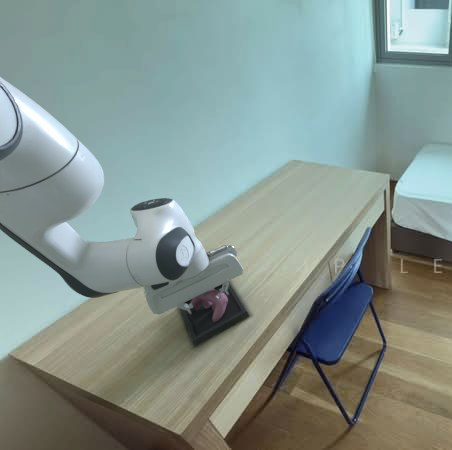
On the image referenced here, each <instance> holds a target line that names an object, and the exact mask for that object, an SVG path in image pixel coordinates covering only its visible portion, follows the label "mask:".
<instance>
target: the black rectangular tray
mask: <svg viewBox="0 0 452 450" xmlns="http://www.w3.org/2000/svg"><path fill="white" fill-rule="evenodd" d="M222 286H223V285H222V284H221V285H219V286H217V287H215V288H213V289H216V290H218V291H219V292H220V290H219V289H221V288H222ZM227 291H228V293H229V295H227V298H228V304H227V305H226V308H225V312H224V314H223V316H222V317H221V319H220V320H219V321H217V322H213V320H212V317H213V313H214V310H213V309H212V307H210V308H205V307H204V306H203V303H201V305H200V306H199V308H198V309H197V310H196V311H195V312H194V313H191V314H189V312H188V311H187V310H183V309H180V308H178V309H179V311H180V313H181V316H182V318H183V321H184V323H185V327H186V329H187V332H188V334H189V336H190V339H191V342H192V343H193V344H194V346H195V347H197V346H199V345H201V344H203V343H205V342H207V341H208V340H210V339H211V338H214V337H215V336H217V335H219V334H220V333H223V332H224V331H227V330H228V329H229V328H231V327H233V326H234V325H236V324H239V323H240V322H242V321H244V320H245V319H247V318H249V317H250V314H249V312H248V310H247V309H246V307H245V305H244V304H243V302H242V301H241V299H240V297H239V296H238V294H237V293H236V291H235V290H234V288H233V286H232V284H231V283H230V282H229V286H228V290H227ZM191 301H192V299H191V300H189V301H187V302H185V304H188V305H189V304H190V303H191Z"/></svg>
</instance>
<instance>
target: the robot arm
mask: <svg viewBox="0 0 452 450" xmlns="http://www.w3.org/2000/svg"><path fill="white" fill-rule="evenodd" d="M104 185H105V175H104V169H103V167H102V165H101V163H100V162H99V160H98V159H97V158H96V156H95V155H94V154H93V153H92V152H91V151H90V150H89V148H87V147H86V146H85V144H83V143H82V142H81V141H80V140H79V139H78V138H77V137H76V136H75V135H74V134H73V133H72V132H71V131H70V130H69V129H68V128H67V127H66V126H64V124H62V123H61V122H60V121H59V120H58V119H56V118H55V117H54V116H53V114H51V113H50V112H48V111H47V110H46V109H44V108H43V107H42V106H41V105H39V104H38V102H36V101H34V99H32V98H30V97H29V96H28V95H26V94H25V93H24V92H23V91H21V90H20V89H19V88H17V87H16V86H15V85H13V84H11V83H10V82H8V81H7V80H6V79H4V78H2V77H1V76H0V231H2V232H3V233H4V234H5V235H6V236H8V238H10V239H11V240H12V241H14V242H15V243H17V244H18V245H19V246H20V247H22V248H24V250H26V251H28V252H29V253H30V254H31V255H33V256H34V257H36V258H37V259H38V260H40V261H41V262H43V263H44V264H45V265H46V266H48V267H49V268H51V269H52V270H53V271H55V272H56V273H57V274H58V275H59V276H60V278H61V279H62V280H63V281H64V282H65V284H66V285H67V286H68V287H69V288H70V289H71V290H73V291H74V292H75V293H77V294H78V295H81V296H83V297H86V298H90V299H97V298H101V297H106V296H108V295H112V294H117V293H119V292H124V291H130V290H134V289H140V288H142V289H143V294H144V297H145V301H146V303H147V305H148V308H149V309H150V311H151V312H152V314H154V315H163V314H164V313H166V312H169V311H170V310H172V309H174V308H176V307H177V308H178V309H179V308H180V309H183V310H187V311H188V312H189V314H191V313H193V312H195V311H196V309H195V307H194V306H193V304H192V303H191V304H189V305H188V304H185V302H187V301H189V300H191V299H193V298H195V297H197V296H199V295H201V294H203V293H205V292H207V291H209V290H211V289H213V288H215V287H217V286H219V285H221V284H222V285H223V286H222V288H221V289H219V290H220V292H221V293H223V294H225V295H226V296H227V295H229V293H228V291H227V290H228V286H229V283H230V282H229V281H232V280H234V279H235V278H238V277H240V276H242V275H243V273H244V271H245V270H244V267H243V265H242V264H241V263H240V261H239V260H238V258H237V256H238V251H237V249H236V248H235V246H233V245H229V244H228V245H226V244H224V245H221V246H220V247H218V248H215V249H212V250H209V251H207V252H206V250H205V247H204V246H203V243H202V242H201V241H200V240H199V239H198V238H197V236H196V234H195V229H194V226H193V225H192V222H191V221H190V219H189V217H188V216H187V214H186V213H185V211H184V210H183V208H182V207H181V206H180V204H179V203H178V202H177V201H175V200H174V199H173V198H169V197H161V198H154V199H149V200H146V201H142V202H139V203H137V204H134V205H133V206H132V207H131V208H130V209H129V211H130V215H131V218H132V221H133V224H134V225H135V227H136V233H135V235H134V237H128V238H122V239H116V240H109V241H91V240H86V239H84V237H83V236H82V235H80V233H78V232H77V231H76V230H75V229H74V228H73V227H72V226H71V225H70V224H69V223H68V222H71V221H72V220H74V219H76V218H78V217H80V216H82V214H84V213H85V212H87V211H88V210H89V209H91V208H92V206H93V205H94V204H95V203H96V202H97V200H98V199H99V198H100V196H101V194H102V191H103V189H104ZM180 309H179V310H180Z"/></svg>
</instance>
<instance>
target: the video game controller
mask: <svg viewBox="0 0 452 450" xmlns="http://www.w3.org/2000/svg"><path fill="white" fill-rule="evenodd" d="M191 303H192V304H193V306H194V307H195V309H196V310H197V309H198V308H199V306H200V305H201V303H203V306H204V307H205V308H210V307H212V309H213V310H214V313H213V317H212V320H213V322H217V321H219V320H220V319H221V317H222V316H223V314H224V312H225V308H226V305H227V304H228V298H227V296H226V295H225V294H223V293H221V292H219V291H218V290H216V289H211V290H209V291H207V292H205V293H203V294H201V295H199V296H197V297H195V298H193V299H192V301H191ZM191 303H190V304H191ZM193 313H194V312H193Z"/></svg>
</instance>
